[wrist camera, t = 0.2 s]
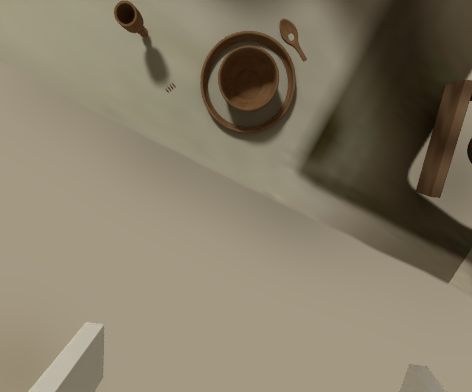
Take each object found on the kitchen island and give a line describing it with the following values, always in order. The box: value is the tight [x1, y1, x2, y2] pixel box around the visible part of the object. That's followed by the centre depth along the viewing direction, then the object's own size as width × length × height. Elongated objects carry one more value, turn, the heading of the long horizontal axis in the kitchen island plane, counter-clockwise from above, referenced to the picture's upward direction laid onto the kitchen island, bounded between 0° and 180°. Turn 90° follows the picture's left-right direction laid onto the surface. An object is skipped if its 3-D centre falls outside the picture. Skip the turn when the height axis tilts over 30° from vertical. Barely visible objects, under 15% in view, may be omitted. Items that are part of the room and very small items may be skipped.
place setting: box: [114, 1, 307, 133], centre depth 31 cm, size 18×20×6 cm
